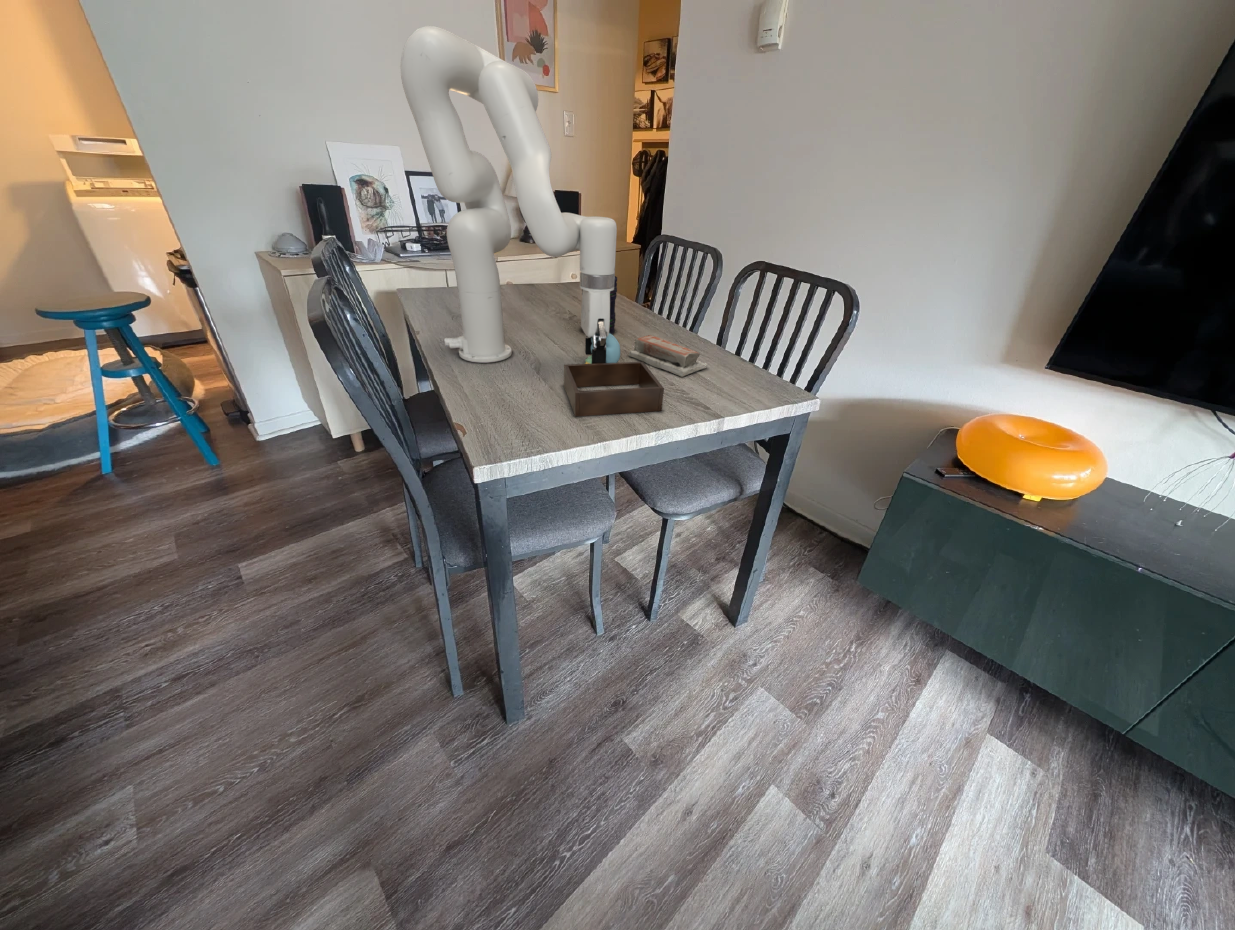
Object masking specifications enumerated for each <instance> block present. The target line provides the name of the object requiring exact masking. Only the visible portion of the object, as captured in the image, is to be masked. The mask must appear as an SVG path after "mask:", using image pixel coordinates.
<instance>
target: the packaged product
mask: <svg viewBox="0 0 1235 930" xmlns="http://www.w3.org/2000/svg"><path fill="white" fill-rule="evenodd" d="M628 356H629V357H631V358H633V359H636V360H638V361H640V362H644V363H646V364H647V365H650V366H651V367H653V368H658V369H662V370H664V371H666V372H669V373H672V374H673V375H677V376H679V377H681V378H682V377H685V376H687V375H690V374H692V373H695V372H698V371H700V370H704V369H707V367H708V363H706V362H702V360H701V361H700V360H698V358H699V357H700V353H699V352H698V351H696V350H694V349H691V348H688V347H685V346H683V345H680V344H677V343H674V342H672V341H669V340H666V339H664V338H661V337H658V336H655V335H653V334H652V335H651V334H648V335H645V336H641V337H638V338H636V339H635V340H634V347H633V349H629V353H628Z"/></svg>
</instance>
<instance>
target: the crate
mask: <svg viewBox="0 0 1235 930" xmlns="http://www.w3.org/2000/svg"><path fill="white" fill-rule="evenodd" d="M629 385H630V386H631V385H639V387H629V388H611V389H591V390H590V389H589V390H579V388H588V387H607V386H608V387H609V386H629ZM563 387H564V391H565V392H566V395H567V398H568V401H569V403H570V406H571V409H572V412H573V414H574V416H575V417H589V416H603V415H605V416H606V415H621V414H638V413H652V412H653V413H654V412H662V409H663V401H664V393H665V387H664V386H663V385H662V384H661V382H660V381H659V380H658V379H657V378H656V376H655V375H654V374H653V373H652V371H651V370H650V368H649V367H648V366H647V365H646V364H645V362H643V361H627V362H626V361H625V362H624V361H623V362H621V361H620V362H617V363H594V364H585V363H572V364H571V363H567V364H563Z"/></svg>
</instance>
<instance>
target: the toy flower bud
mask: <svg viewBox="0 0 1235 930" xmlns="http://www.w3.org/2000/svg"><path fill="white" fill-rule="evenodd" d="M595 335H599V333H595ZM598 340H599V339H596V344H597V341H598ZM591 342H592V345H591V353H592V349H593V336H592V337H591ZM620 358H621V346H620V342H619V341H618V339H617V338H616V337H615V336H614V335H613V334H610V333H609V335H608V336H607V337H606V363H619V361H620ZM584 364H592V355H588V356H587V358H585V360H584Z"/></svg>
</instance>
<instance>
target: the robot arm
mask: <svg viewBox="0 0 1235 930" xmlns="http://www.w3.org/2000/svg"><path fill="white" fill-rule="evenodd" d="M400 78H401V84H402V88H403V92H404V95H405V98H406V101H407V104H408V106H409V109H410V111H411V114H412V116H413V120H414V122H415V124H416V127H417V131H418V134H419V137H420V141H421V144H422V147H423V150H424V153H425V156H426V159H427V162H428V165H429V168H430V171H431V174H432V178H433V180H434V183H435V186H436V188H437V190H438V192H439V193H440V195H441V196H442V197H443V198H444V199H446V200H447V201H449V202H451V203H455V204H456V203H457V204H462V203H464V206H465V209H464V210H459V211H458V212H457V213H455V214H454V215H453V216H452V217H451V218H450V220H449V221H448V224H447V227H446V241H447V245H448V249H449V252H450V255H451V259H452V263H453V267H454V273H455V279H456V280H455V281H456V288H457V293H458V302H459V312H460V319H461V327H462V334H461V336H457V337H444V345H445V347H449V348H450V349H458V355H459V358H461V359H463V360H464V361H467V362H471V363H483V364H484V363H485V364H486V363H496V362H500V361H501V362H502V361H504V360H506V359H508V358H510V357H511V356H512V354H513V353H512V347H511V346H510V345H508V344H506V343H505V341H506V340H505V330H504V318H503V317H504V316H503V303H502V289H501V279H500V273H499V269H498V264H497V261H496V258H495V254H497V253H499V252H501V251H503V250H505V248H506V247H508V245H509V243H510V241H511V238H512V225H511V221H510V216H509V213H508V209H507V206H506V203H505V198H504V195H503V192H502V188H501V183H500V181H499V177H498V174H497V172H496V170H495V168H494V166H493V164H492V163H491V162H490V160H489V159H488V158H487V157H486V156H485V155H484V154H482V153H481V152H478V151H476V150H472V149H470V147H469V144H468V140H467V138H466V135H465V130H464V127H463V124H462V121H461V118H460V115H459V113H458V112H457V109H456V108H455V106H454V104H453V102H452V100H451V96H450V93H449V92H450V91H451V92H455V93H457V94H462V95H464V96H466V97H469V98H471V99H473V100H474V101H477V102H478V103H480V104H482V105H483V107H484V109H485V111H486V114H487V116H488V119H489V120H490V122H491V124H492V127H493V129H494V131H495V133H496V135H497V138H498V140H499V143H500V144H501V146H502V147H501V148H502V149H503V152H504V154H505V157H506V158H507V161H508V163H509V166H510V169H511V171H512V180H513V185H514V190H515V195H516V199H517V204H518V207H519V211H520V213H521V216H522V218H523V220H524V222H525V225H526V227H527V229H528V231H529V233H530V235H531V237H532V239H533V241H534V243H535V245H536V246H537V248H538V249H539V250H540V251H541V252H542V253H543V254H545V255H546V256H549V257H552V258H559V257H562V256H565V255H567V254H569V253H572V252H574V251H576V252H577V251H579V289H581V290H582V289H583V292H582V291H581V306H580V307H581V310H580V328H581V330H582V329H583V331H584V333H583V334H584V335H585V338H584V339H585V340H584V341H585V342H584V353H585V355H586V356H591V355H592V364H594V363H606V337H607V336H608V335H609V327H610V291H613V290H614V281H615V276H616V258H617V257H616V256H617V255H616V254H617V234H618V233H617V232H618V229H617V228H618V227H617V222H616V220H615V219H613V218H611V217H607V216H598V215H597V216H596V215H595V216H585V215H580V214H576V213H572V212H561V208H560V206H559V204H558V202H557V200H556V199H557V198H556V197H555V194H554V191H553V187H552V183H551V177H550V167H551V161H552V149H551V146H550V144H549V141H548V139H547V136H546V133H545V131H544V129H543V126H542V125H541V122H540V120H539V117H538V114H537V110H538V106H539V93H538V88H537V86H536V83H535V81H534V79H533V78H532V77H531V75H530V74H529V73H528V72H527V71H525V70H524V69H522V68H520V67H519V66H516V65H514V64H512V63H511V62H508V61H506V60H503V59H502V58H501V57H499V56H496V55H495V54H493V53H492V52H489V51H487V50H486V49H484V48H482V47H480V46H479V45H477V44H475V43H473V42H471V41H469V40H468V39H465V38H463V37H462V36H459V35H458V34H456V33H454V32H452V31H450V30H447V29H445V28H443V27H439V26H435V25H434V26H433V25H424V26H421V27H418V28H417V29H415V30H414V31H413V32H412V33H411V34H410V35H409V37H407V39H406V42H405V43H404V46H403V48H402V52H401V58H400ZM595 333H599V335H595ZM592 336H593V349H592V353H591V345H592V342H591V337H592ZM596 339H599V340H598V341H597V344H596Z"/></svg>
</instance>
